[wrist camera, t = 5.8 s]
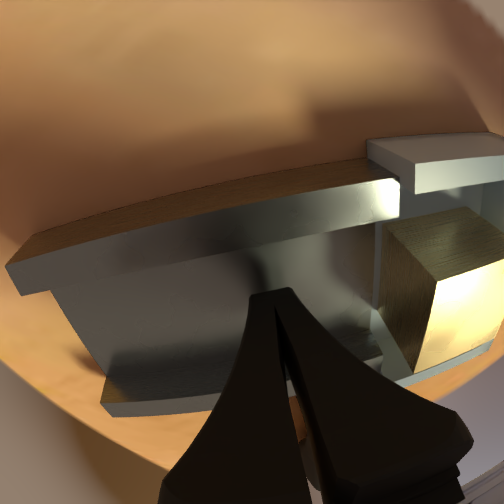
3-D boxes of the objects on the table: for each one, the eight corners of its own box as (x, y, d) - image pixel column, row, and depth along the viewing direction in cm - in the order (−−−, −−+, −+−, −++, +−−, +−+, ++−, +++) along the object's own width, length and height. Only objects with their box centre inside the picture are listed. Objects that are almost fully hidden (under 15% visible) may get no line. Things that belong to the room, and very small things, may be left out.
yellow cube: (466, 206, 10) (525, 250, 7) (452, 287, 12) (494, 338, 9) (382, 223, 10) (437, 282, 7) (377, 310, 12) (413, 374, 9)
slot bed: (367, 157, 9) (399, 176, 8) (364, 339, 14) (380, 372, 12) (31, 235, 9) (4, 265, 8) (119, 382, 14) (112, 417, 12)
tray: (490, 132, 9) (542, 153, 7) (460, 314, 14) (488, 350, 12) (366, 139, 9) (415, 163, 7) (363, 347, 14) (384, 394, 12)
